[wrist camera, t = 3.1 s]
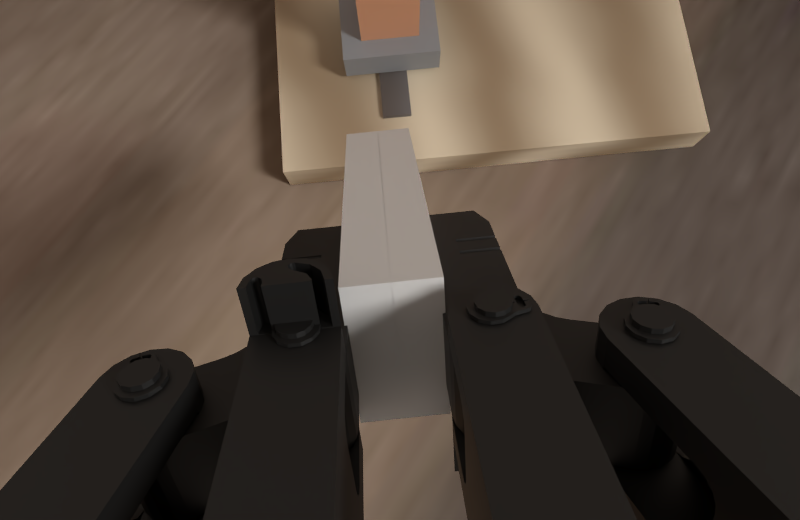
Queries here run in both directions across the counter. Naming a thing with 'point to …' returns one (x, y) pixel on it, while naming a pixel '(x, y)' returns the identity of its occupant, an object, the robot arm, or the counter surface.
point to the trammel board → (494, 85)
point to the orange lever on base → (388, 35)
